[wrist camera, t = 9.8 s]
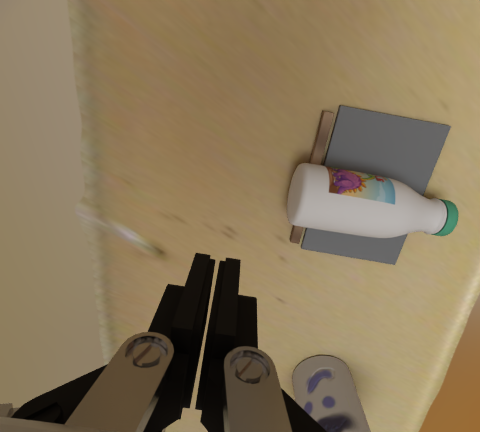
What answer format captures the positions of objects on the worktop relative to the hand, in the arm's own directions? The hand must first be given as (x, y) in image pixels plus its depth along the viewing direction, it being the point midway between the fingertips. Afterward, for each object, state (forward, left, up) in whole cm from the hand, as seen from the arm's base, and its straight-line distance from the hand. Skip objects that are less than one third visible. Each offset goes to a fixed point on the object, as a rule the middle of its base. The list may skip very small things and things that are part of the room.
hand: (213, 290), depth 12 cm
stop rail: (+3, +10, -33) cm, 35 cm away
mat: (+3, +18, -33) cm, 38 cm away
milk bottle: (+4, +7, -28) cm, 29 cm away
